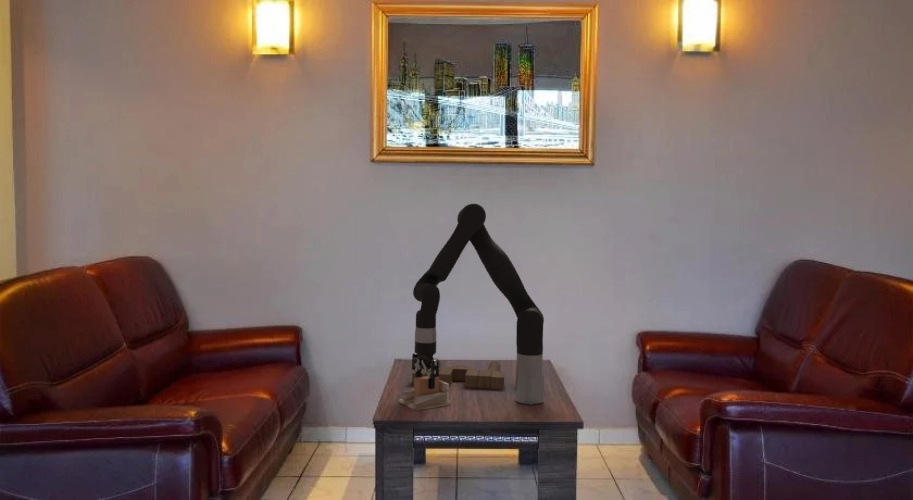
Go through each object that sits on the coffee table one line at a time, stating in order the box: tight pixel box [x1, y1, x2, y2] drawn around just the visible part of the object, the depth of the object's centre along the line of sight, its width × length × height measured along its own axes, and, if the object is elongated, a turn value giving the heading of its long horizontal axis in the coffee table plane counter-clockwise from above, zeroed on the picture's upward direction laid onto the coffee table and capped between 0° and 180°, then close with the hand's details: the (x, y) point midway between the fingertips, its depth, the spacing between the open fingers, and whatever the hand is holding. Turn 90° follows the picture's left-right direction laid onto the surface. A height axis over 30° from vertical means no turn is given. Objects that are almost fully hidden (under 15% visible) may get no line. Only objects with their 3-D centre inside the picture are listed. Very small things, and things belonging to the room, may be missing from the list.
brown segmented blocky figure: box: [411, 357, 505, 390], centre depth 278 cm, size 35×6×29 cm
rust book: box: [413, 376, 439, 396], centre depth 241 cm, size 4×8×8 cm, turn 124°
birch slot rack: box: [398, 380, 452, 411], centre depth 241 cm, size 12×14×7 cm
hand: (424, 386), depth 241 cm, fingers open, 8 cm apart
